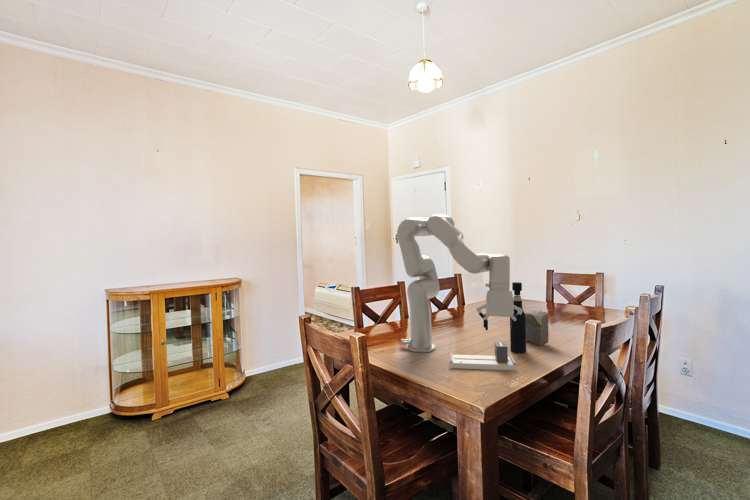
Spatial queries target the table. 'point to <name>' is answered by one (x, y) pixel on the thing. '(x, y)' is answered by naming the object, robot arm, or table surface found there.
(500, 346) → the fader knob
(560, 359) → the table surface
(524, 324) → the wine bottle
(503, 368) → the fader panel
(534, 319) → the geological specimen
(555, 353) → the table surface
